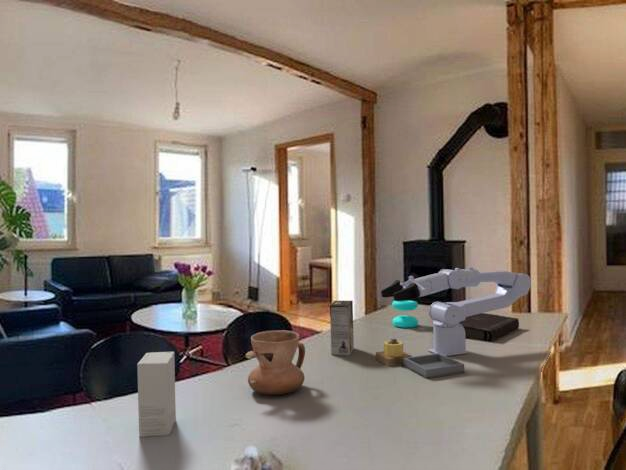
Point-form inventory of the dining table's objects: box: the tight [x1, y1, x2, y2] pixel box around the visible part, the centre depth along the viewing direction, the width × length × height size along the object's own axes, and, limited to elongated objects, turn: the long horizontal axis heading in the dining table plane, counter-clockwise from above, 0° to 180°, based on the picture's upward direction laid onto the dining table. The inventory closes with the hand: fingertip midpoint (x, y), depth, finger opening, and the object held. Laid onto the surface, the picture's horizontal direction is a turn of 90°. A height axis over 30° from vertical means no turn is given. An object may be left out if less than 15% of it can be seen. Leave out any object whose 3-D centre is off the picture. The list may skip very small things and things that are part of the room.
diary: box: [459, 312, 520, 343], centre depth 185 cm, size 19×25×5 cm
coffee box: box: [329, 300, 355, 356], centre depth 163 cm, size 9×6×16 cm
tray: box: [402, 353, 465, 379], centre depth 142 cm, size 12×12×2 cm
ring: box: [383, 340, 404, 357], centre depth 151 cm, size 5×5×4 cm
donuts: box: [391, 300, 419, 329], centre depth 198 cm, size 10×10×10 cm
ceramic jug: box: [245, 329, 306, 396], centre depth 129 cm, size 18×14×14 cm
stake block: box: [375, 338, 413, 367], centre depth 151 cm, size 8×8×6 cm
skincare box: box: [136, 351, 177, 438], centre depth 107 cm, size 8×7×16 cm
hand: (387, 295), depth 151 cm, fingers open, 7 cm apart
